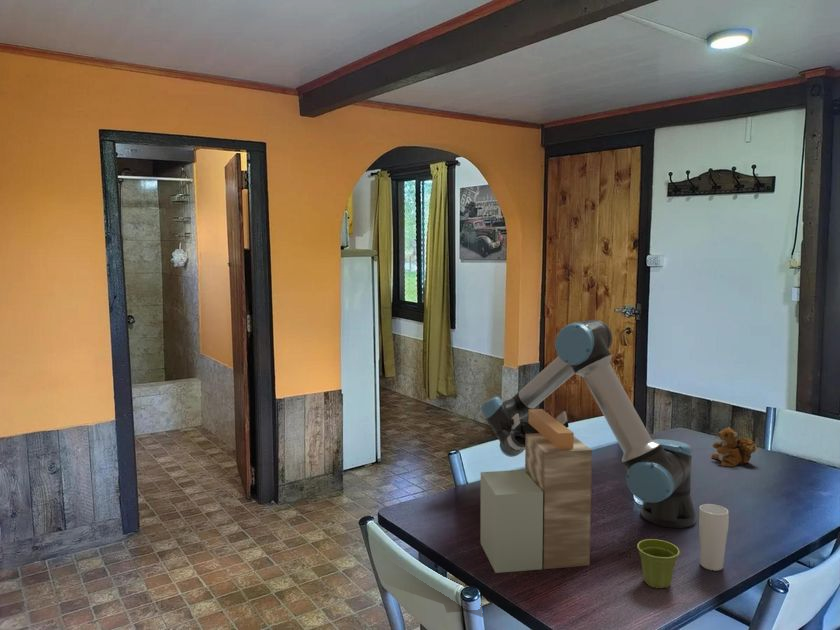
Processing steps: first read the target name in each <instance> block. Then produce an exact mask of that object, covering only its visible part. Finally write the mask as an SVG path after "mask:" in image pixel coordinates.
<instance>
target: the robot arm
mask: <svg viewBox="0 0 840 630" xmlns="http://www.w3.org/2000/svg"><path fill="white" fill-rule="evenodd" d="M554 342H555V343H554V345H555V351H556V354H557V355H558V356H557V357H556V358H555V359H553V361H551V362H550V363H549V364H548V365H547V366H546V367H544V369H542V370H541V371H540V372H539V373H538V374H537V375H535V377H533V379H531V380H530V381H529V382H528V383H527V384H525V385H524V386H523V387H522V388H521V389H520V390H519V391H518V392H517V393H516V394H515V395H514V396H512V397H511V398H509V399H507V400H504V401H503V400H502V399H501V398H500V397H499V396H493V397H491V398H490V399H488V400H487V401H485V402H484V403H483V404H481V406H480V411H481V413H482V414H483V416H484V419H485V420H486V421H487V424H489V426H490V428H491V430H492V431H493V433H494V434H495V436H496V438H497V439H498V441H499V449H500V451H501V452H502V454H503V455H505V456H507V457H512V458H514V457H516V456H518V455H519V456H520V454H522V453H523V452H524V451H525V436H526V434H532V433H539V432H538V431H537V430H536V429H535V428H533V427H532V426H531V425H530V424H529V423H528V421H527V420H521V419H525V418H527V417H529V409H536V407H537V406H538V405H540V404H541V403H542V402H543V401H544V400H545V399H546V398H548V397H549V396H550V395H551V394H553V392H555V391H557V389H558V388H560V387H561V386H562V385H563V384H565V383H566V381H568V380H569V379H570V378H571V377H572V376H574V375H577V376H580V377H582V379H583V380H584V381H585V383H586V385H587V388H588V390H589V391H590V392H591V394H592V396H593V398H594V400H595V402H596V403H597V406H598V408H599V410H600V411H601V413H602V414H603V417H604V419H605V420H606V422H607V424H608V426H609V429H610V430H611V431H612V433H613V435H614V437H615V439H616V441H617V443H618V445H619V447H620V449H621V450H622V452H623V454H622V455H623V456H622V458H621V462H622V463H623V466H624V467H625V470H626V471H627V472H626V476H625V478H626V479H625V480H626V485H627V488H628V490H629V491H630V492H631V493H632V495H634V496H635V497H636V498H638V499H639V500H640V501H641V500H642V501H643V502H642V503H641V509H640V511H641V512H640V513H641V514H640V515H641V516H642V518H643V519H644V520H646V521H647V522H649V523H652V524H654V525H657V526H661V527H664V528H670V529H671V528H674V529H683V528H689V527H693V526H694V525H695V524H696V522H697V513H696V512H697V511H696V509H695V507H694V506H695V505H694V503H693V499H692V494H691V488H692V487H691V486H692V464H693V461H692V460H693V459H692V458H693V452H692V451H693V450H692V447H691V445H690V444H687V443H685V442H682V441H678V440H673V439H662V438H659V439H658V438H657V439H656V438H655V439H653V438H652V436H650V433H649V431H648V430H647V428H646V426H645V425H644V423H643V421H642V419H641V417H640V416H639V414H638V412H637V410H636V409H635V406H634V405H633V403H632V401H631V399H630V398H629V395H628V394H627V392H626V390H625V388H624V386H623V385H622V382H621V381H620V380H619V379H620V378H618V375H617V374H616V372H615V370H614V369H613V367H612V364H611V360H612V357H613V356H612V354H611V352H610V349H611V347H612V344H613V333H612V330H611V329H610V327H609V326H608V325H607V324H606V323H605V322H603V321H602V320H599V319H594V318H592V319H591V318H590V319H587V320H583V321H575V322H572V323H569V324H567V325H566V326H564V327H562V328H561V329H560V330H559V332H557V335H556V339H555V341H554ZM555 419H556V420H557V421H559V422H560V423H561V424H563V425H564V426H565V427H567V428H569V421H568V416H567V411H564V410H563V411H561V413H560V414H558V415H557V416H556V418H555Z"/></svg>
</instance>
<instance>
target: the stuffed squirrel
mask: <svg viewBox="0 0 840 630" xmlns="http://www.w3.org/2000/svg"><path fill="white" fill-rule="evenodd" d="M737 436H738V432H736V431H734V429H733V428H731V427H726V428H723V429H722V430H720V431H719V432H718V434H716V438H718V439H719V440H720V441H718V442H717V441H715V442H714V443H712V447H713V449H715V450H716V453H713V454H711V455H710V457H711V459H713V460H717V461H720V462H721V463H720V465H721V467H736V466H737V465H744V464H748V462H750V460H751V458H752V453H755V452H756V450H757V448H756V447H758V445H756V443H755V442H754V441H753V440H751V439H750V438H747V437H741V438H738V439H736V438H737Z"/></svg>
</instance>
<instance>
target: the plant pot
mask: <svg viewBox="0 0 840 630" xmlns="http://www.w3.org/2000/svg"><path fill="white" fill-rule="evenodd" d="M636 547H637V550H638V553H639V556H640V560H641V561H640V562H641V568H642V569H641V570H642V577H643V581H645V584H646V585H647V584H648V585H647V586H649V585H650V587H651V586H652V587H651V588H654V587H656V588H655V589H658V588H661V589H663V588H666V589H668V588H670V586H671V585H672V581H673V574H674V570H675V566H676V565H675V564H676V561H677V558H678V556H679V555H680V549H679V548H678V546H676V545H675V544H673V543H672V542H669V541H666V540H661V539H657V538H655V539H653V538H647V539H642V540H640V541H639V542H638V543H637V546H636ZM667 587H668V588H667Z"/></svg>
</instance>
